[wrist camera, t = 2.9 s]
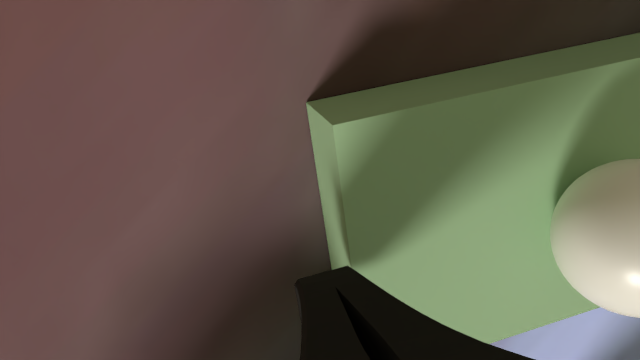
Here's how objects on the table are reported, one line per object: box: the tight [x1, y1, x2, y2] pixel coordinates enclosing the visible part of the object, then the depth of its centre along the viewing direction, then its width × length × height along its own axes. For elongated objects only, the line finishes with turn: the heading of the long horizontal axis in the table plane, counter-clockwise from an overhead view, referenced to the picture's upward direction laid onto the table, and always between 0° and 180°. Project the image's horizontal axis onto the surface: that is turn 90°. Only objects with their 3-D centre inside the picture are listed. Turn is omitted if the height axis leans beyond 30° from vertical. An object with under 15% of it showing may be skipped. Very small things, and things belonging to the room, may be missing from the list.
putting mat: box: [306, 33, 640, 344], centre depth 17 cm, size 8×20×2 cm, turn 98°
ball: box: [550, 159, 640, 318], centre depth 13 cm, size 4×4×4 cm
